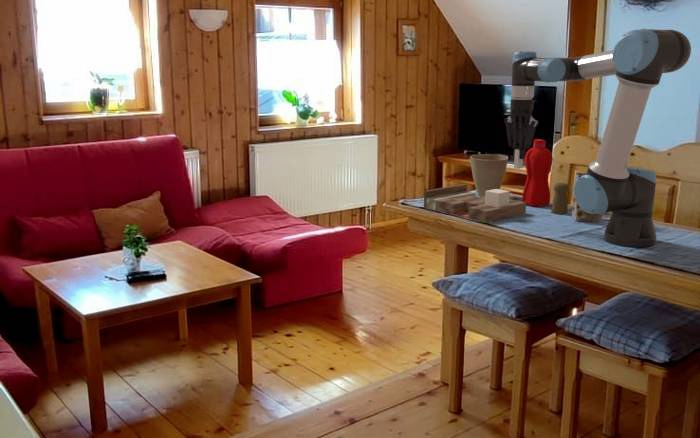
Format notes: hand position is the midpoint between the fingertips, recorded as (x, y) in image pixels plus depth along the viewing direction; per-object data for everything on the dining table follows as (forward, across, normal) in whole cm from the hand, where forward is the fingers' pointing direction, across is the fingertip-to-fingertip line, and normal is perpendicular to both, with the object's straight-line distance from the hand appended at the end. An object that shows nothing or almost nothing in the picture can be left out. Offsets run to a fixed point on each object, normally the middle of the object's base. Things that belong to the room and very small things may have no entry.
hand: (518, 168), depth 244 cm
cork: (+19, -3, -22) cm, 29 cm away
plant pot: (+19, +33, -25) cm, 45 cm away
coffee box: (+19, -15, -20) cm, 31 cm away
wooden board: (+18, +19, 0) cm, 26 cm away
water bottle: (+19, +11, -27) cm, 35 cm away
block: (+14, +8, 0) cm, 17 cm away
